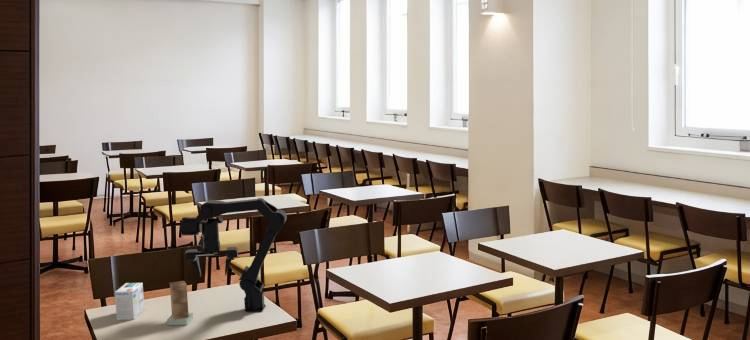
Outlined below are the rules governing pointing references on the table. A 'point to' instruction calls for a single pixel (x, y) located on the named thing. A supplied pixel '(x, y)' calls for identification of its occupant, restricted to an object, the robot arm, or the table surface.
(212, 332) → the table surface
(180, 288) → the pillar
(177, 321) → the plinth
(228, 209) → the robot arm
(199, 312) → the table surface
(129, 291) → the light bulb box
